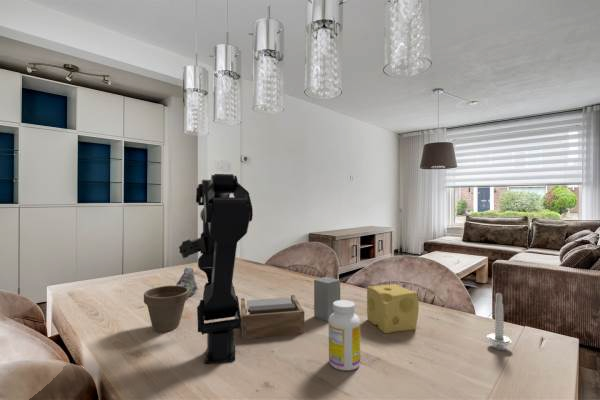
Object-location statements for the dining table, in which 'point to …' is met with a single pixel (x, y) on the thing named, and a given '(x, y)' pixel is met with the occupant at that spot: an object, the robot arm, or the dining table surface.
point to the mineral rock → (188, 280)
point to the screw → (499, 326)
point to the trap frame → (272, 322)
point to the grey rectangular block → (325, 296)
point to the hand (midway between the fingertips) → (214, 287)
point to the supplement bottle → (344, 336)
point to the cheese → (392, 307)
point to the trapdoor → (270, 305)
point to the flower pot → (166, 306)
